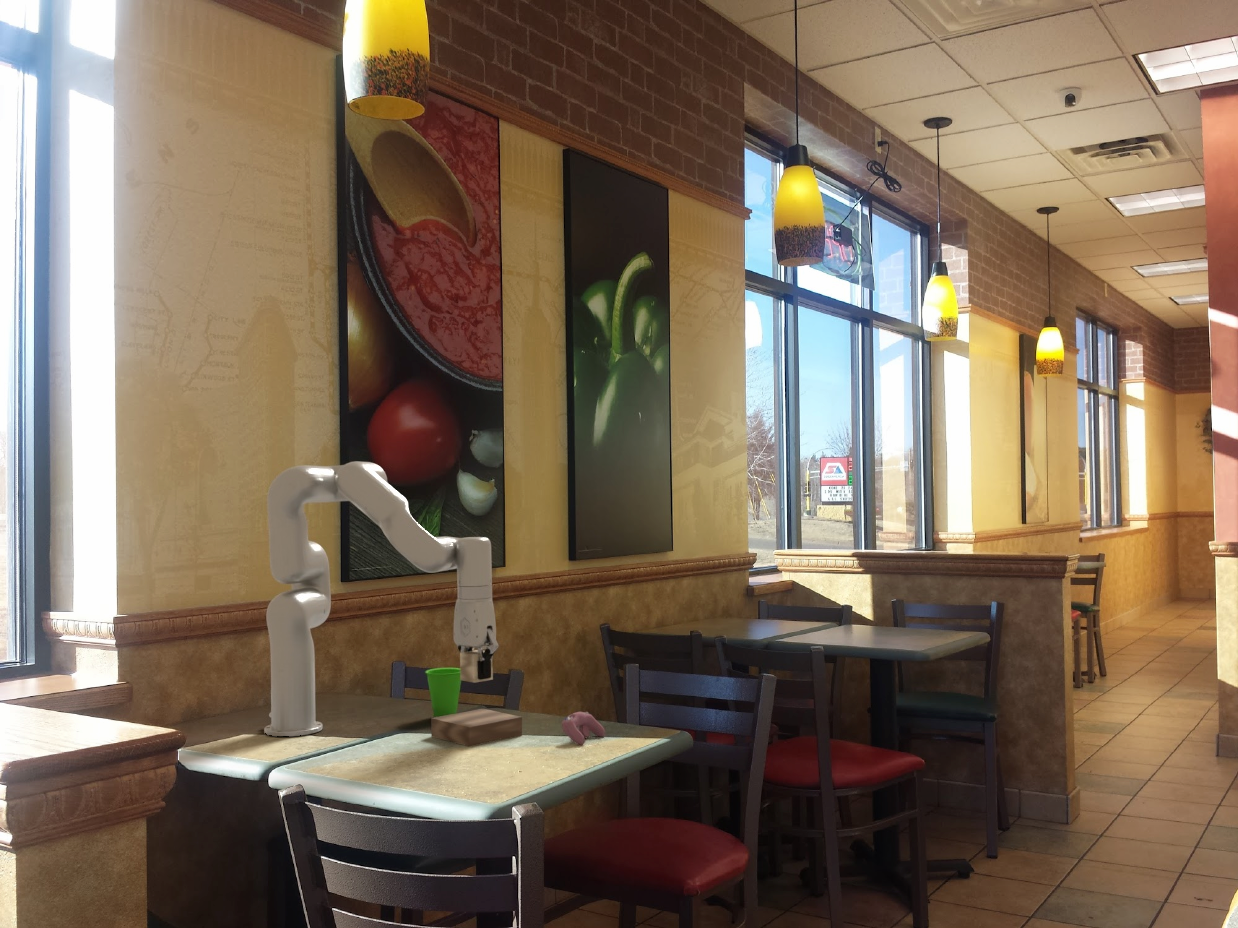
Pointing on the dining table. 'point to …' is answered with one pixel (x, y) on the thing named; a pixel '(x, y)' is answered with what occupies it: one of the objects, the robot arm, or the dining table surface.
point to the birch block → (471, 667)
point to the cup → (444, 690)
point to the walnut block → (476, 727)
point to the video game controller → (581, 727)
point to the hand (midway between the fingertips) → (476, 676)
